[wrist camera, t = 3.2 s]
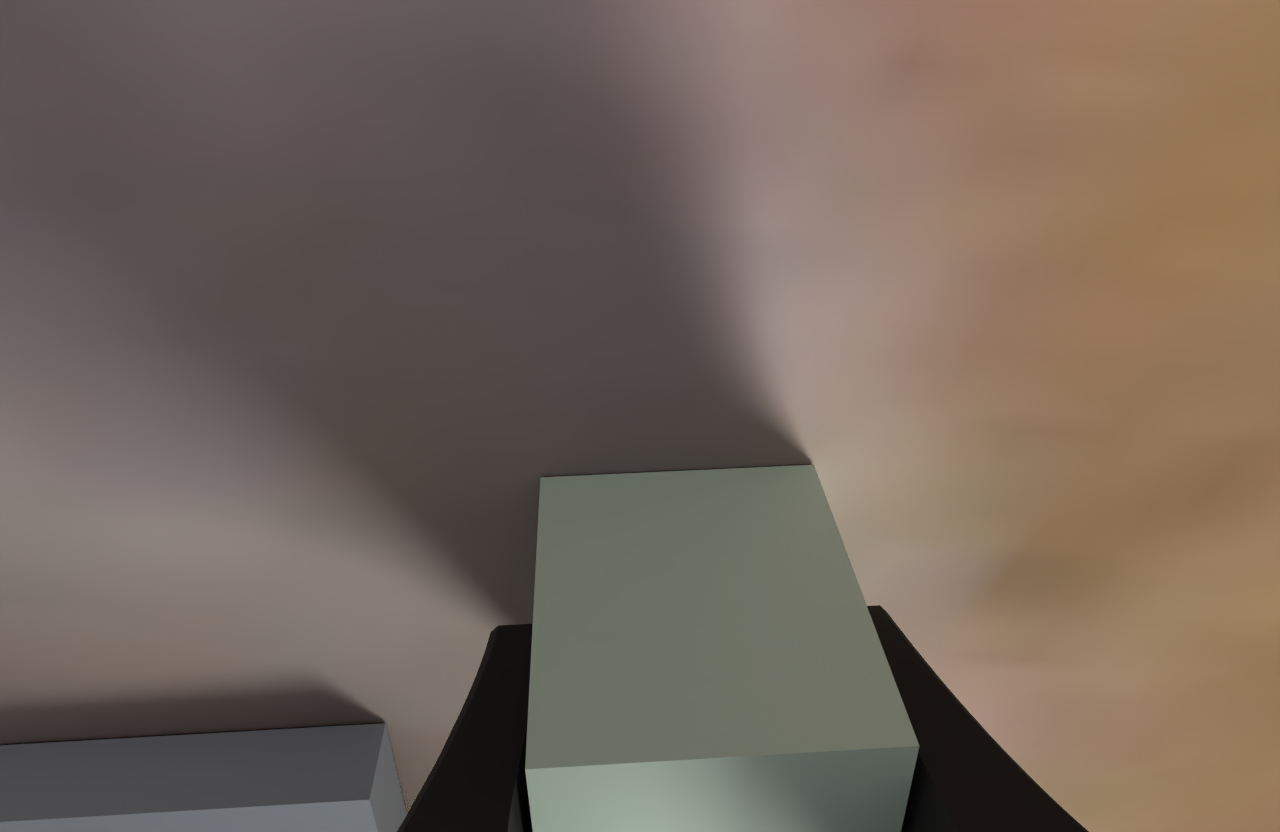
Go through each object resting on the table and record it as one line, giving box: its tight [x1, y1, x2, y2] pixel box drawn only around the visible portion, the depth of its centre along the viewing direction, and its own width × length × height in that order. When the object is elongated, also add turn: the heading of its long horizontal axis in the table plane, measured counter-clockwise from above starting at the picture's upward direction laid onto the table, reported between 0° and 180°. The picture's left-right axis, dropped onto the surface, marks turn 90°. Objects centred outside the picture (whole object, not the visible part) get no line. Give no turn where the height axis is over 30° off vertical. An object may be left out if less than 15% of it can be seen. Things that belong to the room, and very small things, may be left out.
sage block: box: [525, 465, 919, 832], centre depth 13 cm, size 4×4×5 cm
